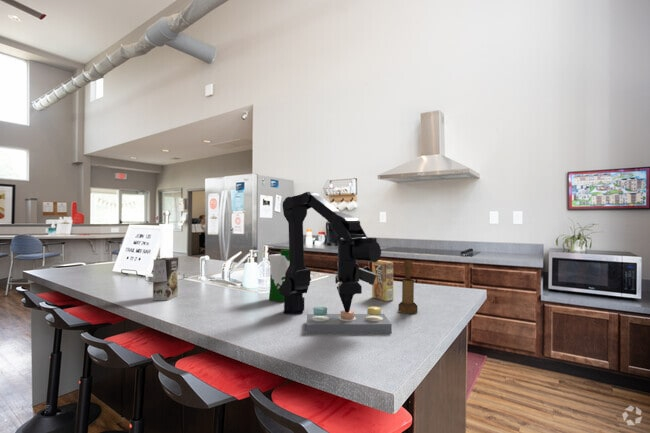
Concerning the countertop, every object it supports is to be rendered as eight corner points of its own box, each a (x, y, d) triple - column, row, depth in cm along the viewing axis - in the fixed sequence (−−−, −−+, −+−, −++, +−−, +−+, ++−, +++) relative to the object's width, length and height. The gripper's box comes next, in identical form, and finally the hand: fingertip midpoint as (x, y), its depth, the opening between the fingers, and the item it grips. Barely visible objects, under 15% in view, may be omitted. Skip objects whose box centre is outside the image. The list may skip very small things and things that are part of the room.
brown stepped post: (414, 314, 117) (414, 261, 117) (395, 312, 120) (395, 260, 121) (419, 310, 123) (419, 259, 123) (402, 308, 126) (402, 258, 126)
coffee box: (168, 300, 136) (168, 259, 136) (152, 300, 136) (152, 259, 136) (178, 295, 145) (179, 257, 145) (163, 295, 145) (163, 257, 145)
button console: (306, 333, 97) (306, 323, 97) (307, 322, 108) (307, 313, 108) (391, 333, 98) (391, 323, 98) (383, 321, 109) (383, 313, 109)
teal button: (313, 315, 101) (313, 310, 101) (313, 312, 105) (313, 306, 105) (327, 315, 101) (327, 310, 101) (326, 312, 105) (326, 306, 105)
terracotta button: (341, 319, 101) (341, 313, 101) (340, 315, 105) (340, 310, 105) (354, 319, 101) (354, 313, 101) (353, 315, 105) (353, 310, 105)
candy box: (394, 300, 139) (394, 261, 139) (386, 301, 136) (386, 262, 137) (379, 296, 146) (379, 259, 146) (371, 297, 144) (371, 260, 144)
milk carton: (282, 303, 133) (282, 250, 133) (265, 299, 138) (265, 249, 138) (297, 299, 140) (297, 249, 140) (280, 296, 145) (280, 248, 146)
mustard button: (368, 315, 101) (368, 310, 101) (366, 311, 105) (366, 306, 105) (382, 315, 101) (382, 309, 101) (379, 311, 105) (379, 306, 105)
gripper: (380, 263, 94) (380, 321, 94) (369, 256, 113) (369, 304, 112) (339, 263, 94) (339, 321, 94) (335, 256, 112) (335, 304, 112)
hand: (347, 312), depth 103 cm, fingers closed, pressing on terracotta button
